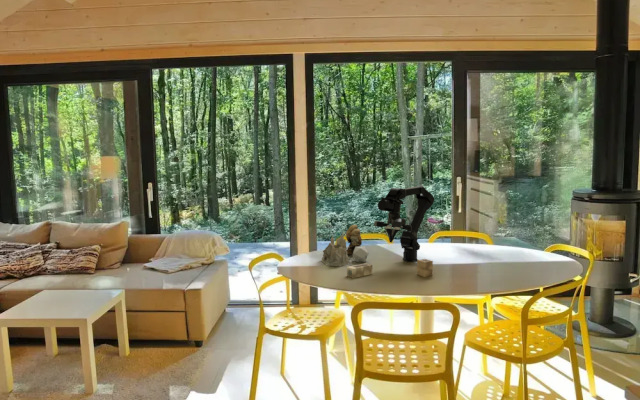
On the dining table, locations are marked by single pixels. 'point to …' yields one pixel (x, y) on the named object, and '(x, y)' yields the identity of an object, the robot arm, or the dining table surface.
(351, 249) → the brown lumpy rock
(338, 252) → the jagged grey rock
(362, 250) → the die
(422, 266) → the oak block
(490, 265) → the dining table surface
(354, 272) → the cream two-panel pillar
